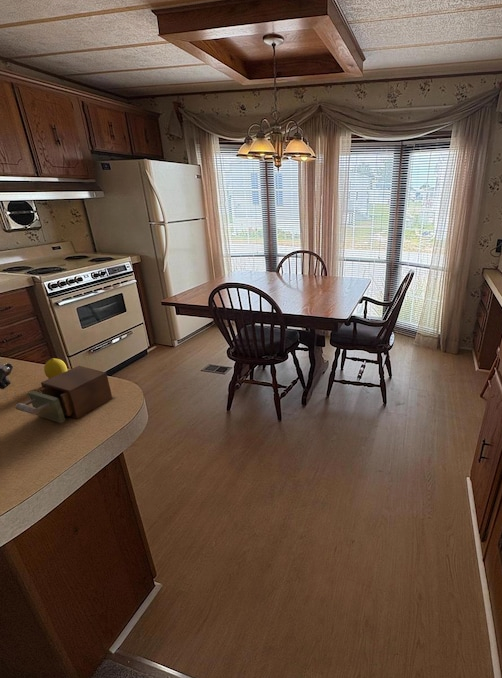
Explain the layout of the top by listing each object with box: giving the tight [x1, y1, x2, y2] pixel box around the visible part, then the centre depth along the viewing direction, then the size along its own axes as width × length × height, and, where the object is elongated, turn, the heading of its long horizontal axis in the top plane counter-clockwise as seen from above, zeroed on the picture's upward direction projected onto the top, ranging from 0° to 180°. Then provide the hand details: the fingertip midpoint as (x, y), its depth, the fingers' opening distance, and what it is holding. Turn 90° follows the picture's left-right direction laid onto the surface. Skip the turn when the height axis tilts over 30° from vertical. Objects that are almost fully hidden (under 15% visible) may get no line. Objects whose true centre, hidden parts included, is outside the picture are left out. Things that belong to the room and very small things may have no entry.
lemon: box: [43, 357, 68, 379], centre depth 106 cm, size 6×6×8 cm
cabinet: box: [40, 365, 113, 419], centre depth 95 cm, size 11×11×9 cm
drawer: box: [15, 387, 74, 424], centre depth 89 cm, size 14×9×7 cm
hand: (4, 385), depth 80 cm, fingers closed
